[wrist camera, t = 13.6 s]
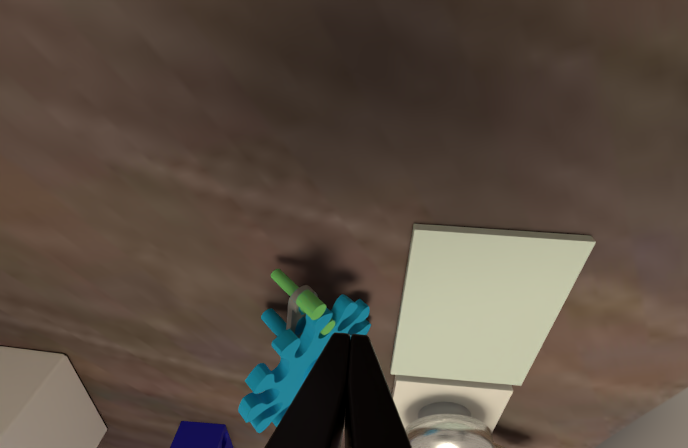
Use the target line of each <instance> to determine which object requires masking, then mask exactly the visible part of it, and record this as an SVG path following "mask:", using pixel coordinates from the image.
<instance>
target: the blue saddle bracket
mask: <svg viewBox="0 0 688 448" xmlns="http://www.w3.org/2000/svg"><path fill="white" fill-rule="evenodd" d="M170 448H233V445H232V442H231V440H230V437H229V434H228V431H227V428H226V426H225V425H224V424H212V423H200V422H188V421H181V423H180V426H179V428H178V430H177V433H176V435H175V437H174V440H173V442H172V444H171V447H170Z"/></svg>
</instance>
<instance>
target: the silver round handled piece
mask: <svg viewBox="0 0 688 448" xmlns="http://www.w3.org/2000/svg"><path fill="white" fill-rule="evenodd" d="M405 431H406V433H407V436H408V439H409V441H410V444H411V446H412V448H505V447H503V446H500V445H498V444H496V443H494V441H493V437H492V432H491V430H490V429H489V427H488V426H487V425H486V424H484V423H483V422H481V421H479V420H477V419H475V418H472V417H469V416H465V415H459V414H435V415H429V416H425V417H422V418H419V419H417V420H415V421H413V422H412V423H410V424H409V425H408V426H407V427H406V428H405Z"/></svg>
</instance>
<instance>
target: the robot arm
mask: <svg viewBox="0 0 688 448" xmlns="http://www.w3.org/2000/svg"><path fill="white" fill-rule="evenodd" d="M345 409H346V410H345ZM344 421H345V448H412V446H411V444H410V441H409V439H408V436H407V433H406V431H405V428H404V426H403V423H402V421H401V418H400V415H399V413H398V410H397V408H396V405H395V403H394V400H393V398H392V395H391V392H390V390H389V387H388V385H387V382H386V380H385V377H384V374H383V372H382V369H381V367H380V364H379V362H378V359H377V356H376V354H375V351H374V349H373V346H372V344H371V341H370V339H369V337H368V336H367V335H361V334H352V335H351V339H350V334H348V333H337V332H335V333H333V334H332V336H331V337H330V339H329V341H328V342H327V344H326V346H325V347H324V349H323V351H322V352H321V354H320V356H319V357H318V359H317V361H316V362H315V364H314V366H313V367H312V369H311V371H310V372H309V374H308V376H307V377H306V379H305V381H304V382H303V384H302V386H301V387H300V389H299V391H298V392H297V394H296V396H295V397H294V399H293V401H292V403H291V404H290V406H289V408H288V409H287V411H286V413H285V414H284V416H283V418H282V419H281V421H280V423H279V424H278V426H277V428H276V429H275V431H274V433H273V434H272V436H271V438H270V439H269V441H268V443H267V444H266V446H265V448H340V447H341V442H342V436H343V430H344Z"/></svg>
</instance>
